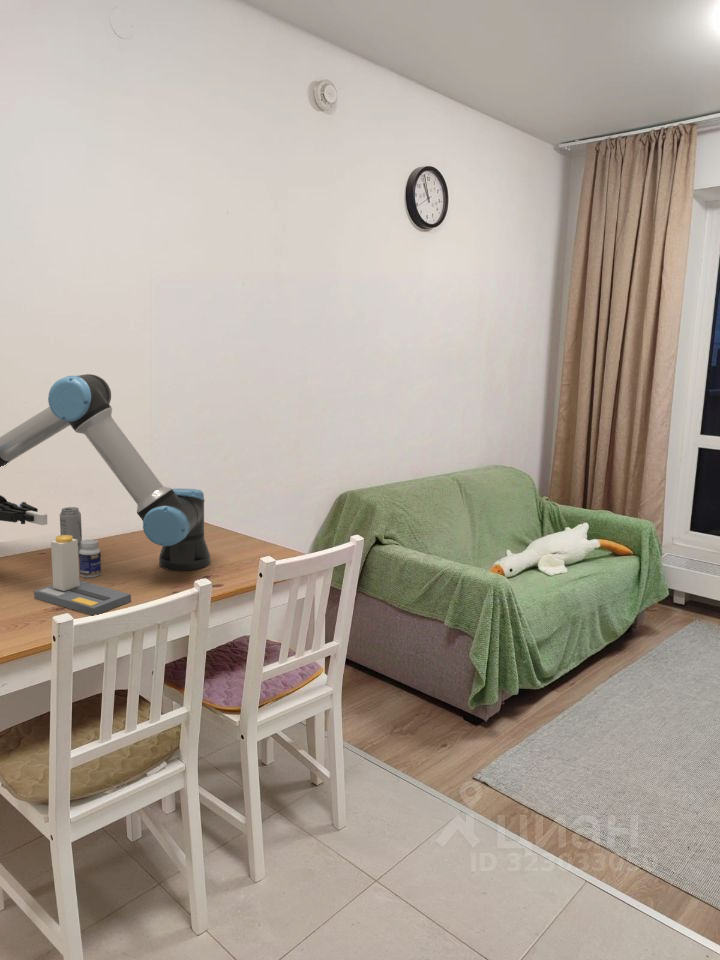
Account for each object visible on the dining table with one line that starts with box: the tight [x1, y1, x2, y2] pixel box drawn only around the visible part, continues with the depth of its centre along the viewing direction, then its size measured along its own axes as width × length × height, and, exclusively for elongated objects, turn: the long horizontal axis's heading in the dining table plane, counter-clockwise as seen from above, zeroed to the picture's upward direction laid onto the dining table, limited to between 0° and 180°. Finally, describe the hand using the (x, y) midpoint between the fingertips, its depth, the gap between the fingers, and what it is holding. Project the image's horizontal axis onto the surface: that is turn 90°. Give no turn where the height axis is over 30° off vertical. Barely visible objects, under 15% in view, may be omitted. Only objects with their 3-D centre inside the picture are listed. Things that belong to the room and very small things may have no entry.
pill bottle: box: [78, 539, 102, 579], centre depth 205 cm, size 6×6×10 cm
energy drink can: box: [59, 506, 83, 558], centre depth 221 cm, size 6×6×15 cm
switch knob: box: [50, 534, 80, 591], centre depth 188 cm, size 4×5×14 cm
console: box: [33, 579, 132, 616], centre depth 187 cm, size 22×12×2 cm, turn 61°
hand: (44, 519), depth 190 cm, fingers closed
